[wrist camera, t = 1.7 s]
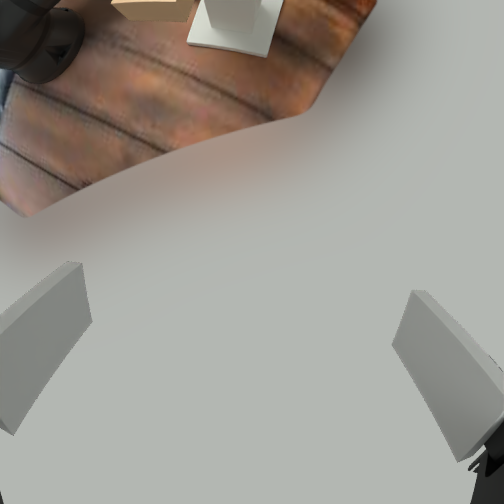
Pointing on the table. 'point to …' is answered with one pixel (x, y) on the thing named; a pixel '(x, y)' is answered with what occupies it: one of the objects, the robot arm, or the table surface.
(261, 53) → the tall stand
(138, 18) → the hammer
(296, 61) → the table surface
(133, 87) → the table surface
